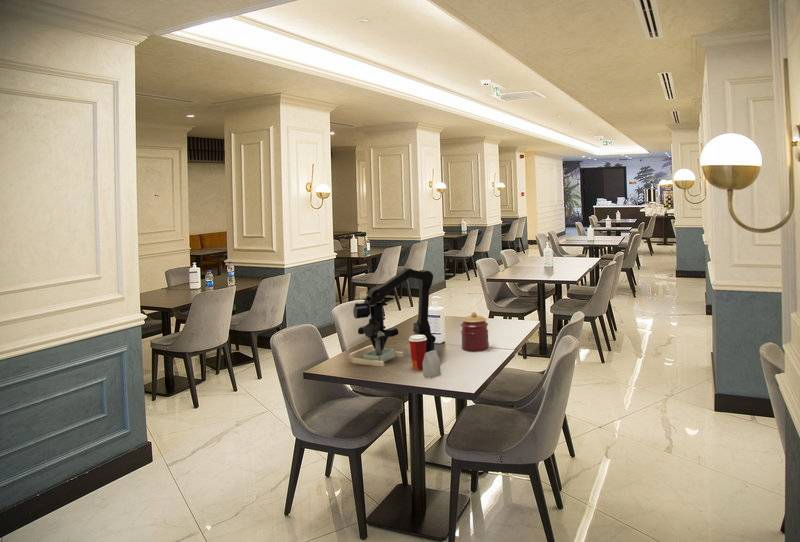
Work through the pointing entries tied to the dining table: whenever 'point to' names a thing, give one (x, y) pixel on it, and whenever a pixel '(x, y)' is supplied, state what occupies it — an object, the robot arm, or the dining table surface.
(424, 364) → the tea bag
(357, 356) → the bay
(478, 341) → the canister
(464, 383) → the dining table surface
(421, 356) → the paper cup
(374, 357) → the green base with post
